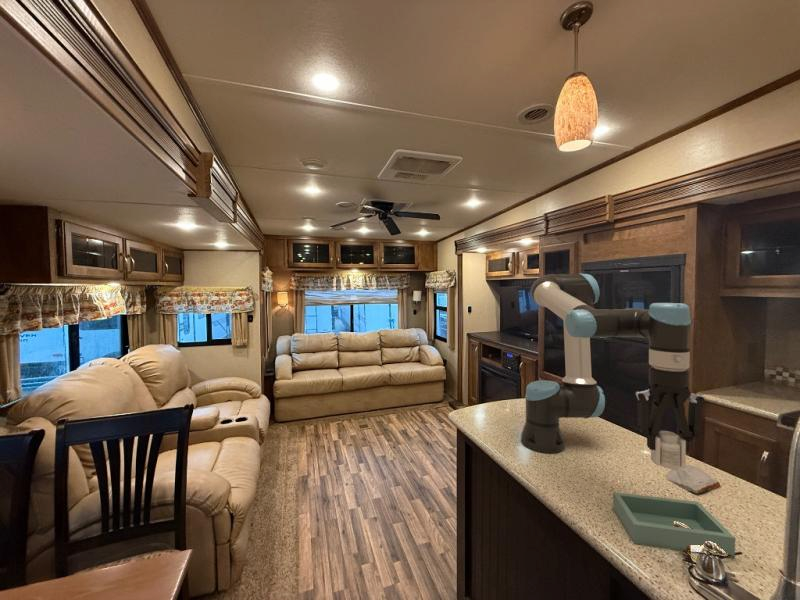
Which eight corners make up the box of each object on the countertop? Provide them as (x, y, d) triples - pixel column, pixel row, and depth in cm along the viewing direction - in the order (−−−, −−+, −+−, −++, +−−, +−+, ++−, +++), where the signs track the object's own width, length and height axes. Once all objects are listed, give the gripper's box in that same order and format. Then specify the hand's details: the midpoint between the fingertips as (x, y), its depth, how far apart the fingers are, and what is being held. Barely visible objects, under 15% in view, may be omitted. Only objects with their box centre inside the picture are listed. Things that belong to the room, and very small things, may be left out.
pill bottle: (656, 458, 81) (656, 427, 81) (679, 464, 78) (680, 432, 78) (656, 466, 78) (656, 434, 78) (680, 472, 75) (680, 439, 75)
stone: (658, 477, 101) (658, 466, 101) (683, 470, 105) (684, 459, 105) (697, 497, 92) (697, 485, 92) (723, 488, 95) (724, 476, 95)
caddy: (612, 508, 87) (613, 492, 87) (697, 519, 83) (698, 501, 82) (634, 543, 75) (634, 524, 75) (734, 558, 71) (735, 537, 70)
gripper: (634, 369, 76) (633, 467, 77) (724, 373, 72) (722, 476, 73) (620, 362, 83) (620, 452, 84) (701, 365, 79) (700, 459, 80)
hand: (667, 463), depth 78 cm, fingers closed on pill bottle, 4 cm apart
